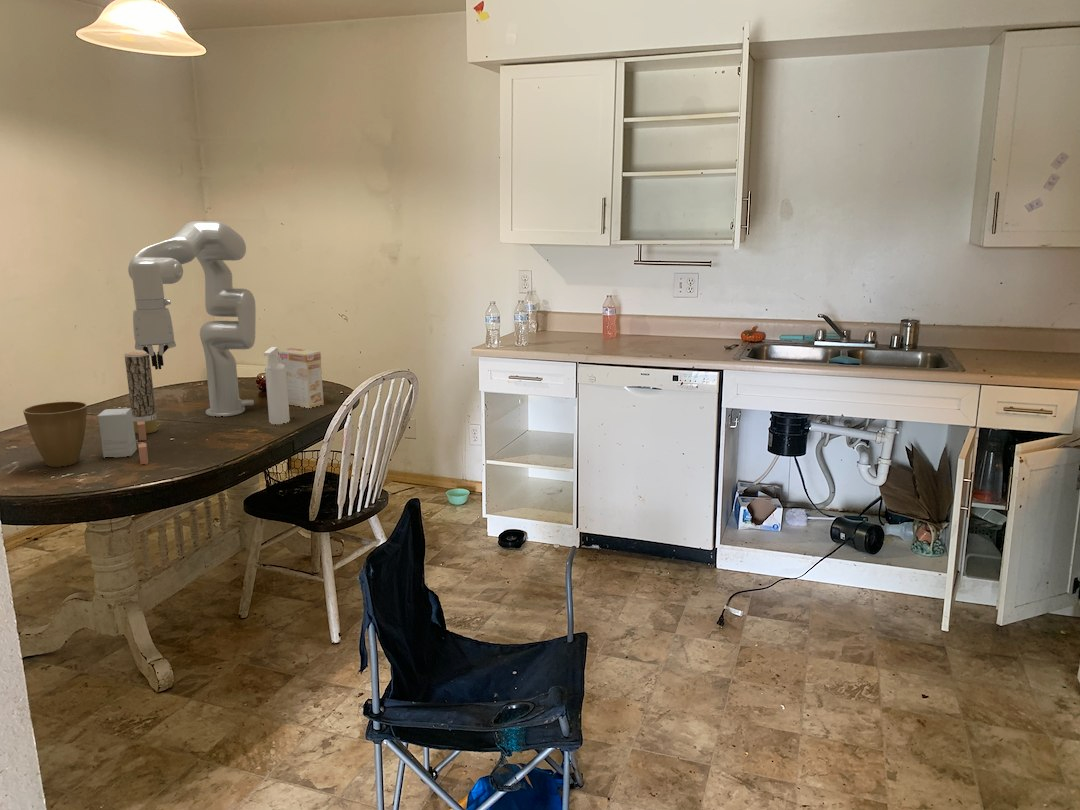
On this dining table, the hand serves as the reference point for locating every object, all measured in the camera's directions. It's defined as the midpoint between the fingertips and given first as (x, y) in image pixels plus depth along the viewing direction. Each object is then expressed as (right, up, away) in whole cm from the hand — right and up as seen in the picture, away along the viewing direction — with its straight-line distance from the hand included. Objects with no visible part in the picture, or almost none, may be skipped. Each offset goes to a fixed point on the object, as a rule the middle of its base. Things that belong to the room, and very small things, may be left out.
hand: (158, 368), depth 231 cm
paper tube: (-14, -19, +21) cm, 32 cm away
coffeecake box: (+25, -11, +57) cm, 63 cm away
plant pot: (-22, -27, -9) cm, 36 cm away
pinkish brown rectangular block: (-5, -24, +3) cm, 24 cm away
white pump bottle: (+24, -16, +34) cm, 45 cm away
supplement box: (-10, -25, -1) cm, 27 cm away
